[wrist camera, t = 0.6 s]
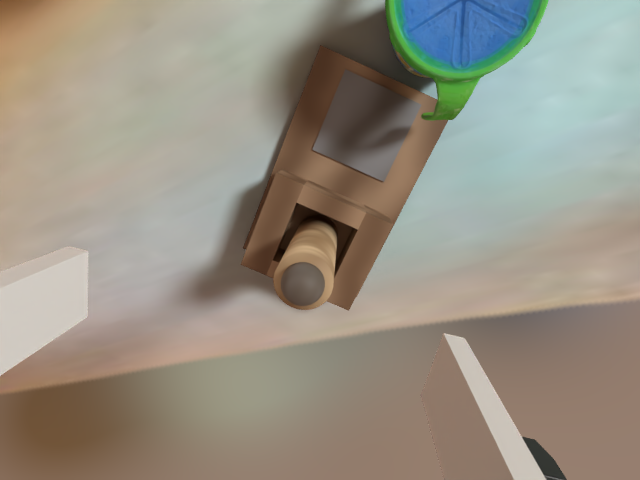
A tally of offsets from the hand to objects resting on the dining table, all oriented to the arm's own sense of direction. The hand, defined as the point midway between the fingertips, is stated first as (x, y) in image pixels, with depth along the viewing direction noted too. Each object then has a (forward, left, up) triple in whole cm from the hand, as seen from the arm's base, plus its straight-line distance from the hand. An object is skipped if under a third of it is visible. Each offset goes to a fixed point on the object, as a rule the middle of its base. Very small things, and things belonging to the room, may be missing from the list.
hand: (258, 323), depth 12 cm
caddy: (+2, +3, -26) cm, 26 cm away
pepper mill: (+2, -3, -25) cm, 25 cm away
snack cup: (+4, +19, -26) cm, 32 cm away
